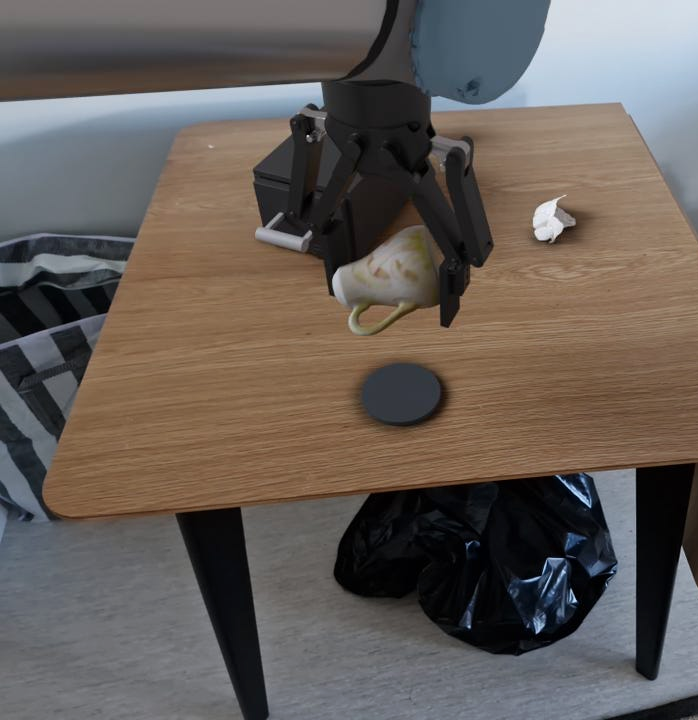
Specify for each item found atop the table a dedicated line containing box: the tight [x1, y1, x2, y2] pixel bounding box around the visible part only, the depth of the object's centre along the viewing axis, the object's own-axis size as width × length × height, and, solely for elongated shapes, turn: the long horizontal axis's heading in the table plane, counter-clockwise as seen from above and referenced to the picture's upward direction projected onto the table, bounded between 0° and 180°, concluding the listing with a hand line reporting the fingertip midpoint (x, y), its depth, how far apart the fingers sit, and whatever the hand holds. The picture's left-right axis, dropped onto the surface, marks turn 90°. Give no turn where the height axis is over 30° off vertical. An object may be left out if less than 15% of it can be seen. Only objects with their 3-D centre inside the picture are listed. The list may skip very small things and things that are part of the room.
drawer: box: [252, 177, 353, 263], centre depth 89 cm, size 24×11×8 cm, turn 160°
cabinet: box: [252, 105, 416, 263], centre depth 92 cm, size 20×13×10 cm, turn 160°
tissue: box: [532, 194, 577, 244], centre depth 93 cm, size 6×8×4 cm
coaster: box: [360, 362, 442, 427], centre depth 73 cm, size 8×8×1 cm
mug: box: [332, 224, 441, 337], centre depth 63 cm, size 8×10×10 cm
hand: (394, 302), depth 64 cm, fingers closed on mug, 10 cm apart
